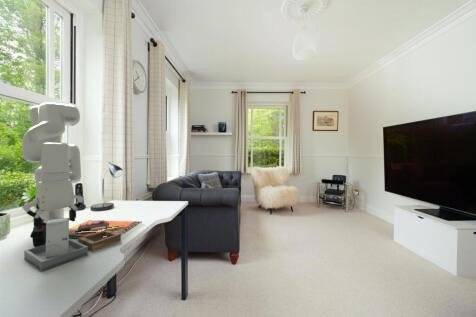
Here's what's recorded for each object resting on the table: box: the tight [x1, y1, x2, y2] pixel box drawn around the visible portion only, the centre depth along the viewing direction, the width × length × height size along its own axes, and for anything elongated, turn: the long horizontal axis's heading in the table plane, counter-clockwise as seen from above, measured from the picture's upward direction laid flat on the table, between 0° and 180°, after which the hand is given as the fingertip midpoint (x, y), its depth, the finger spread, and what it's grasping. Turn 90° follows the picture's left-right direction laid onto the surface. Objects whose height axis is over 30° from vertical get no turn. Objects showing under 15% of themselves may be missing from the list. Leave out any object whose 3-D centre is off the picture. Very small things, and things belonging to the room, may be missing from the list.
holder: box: [77, 229, 122, 253], centre depth 87 cm, size 11×11×3 cm
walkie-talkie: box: [74, 219, 125, 233], centre depth 104 cm, size 9×4×20 cm
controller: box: [29, 219, 46, 248], centre depth 84 cm, size 4×12×10 cm, turn 36°
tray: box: [23, 237, 89, 272], centre depth 76 cm, size 16×13×3 cm
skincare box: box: [46, 217, 70, 258], centre depth 76 cm, size 6×4×12 cm
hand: (56, 224), depth 76 cm, fingers open, 9 cm apart
